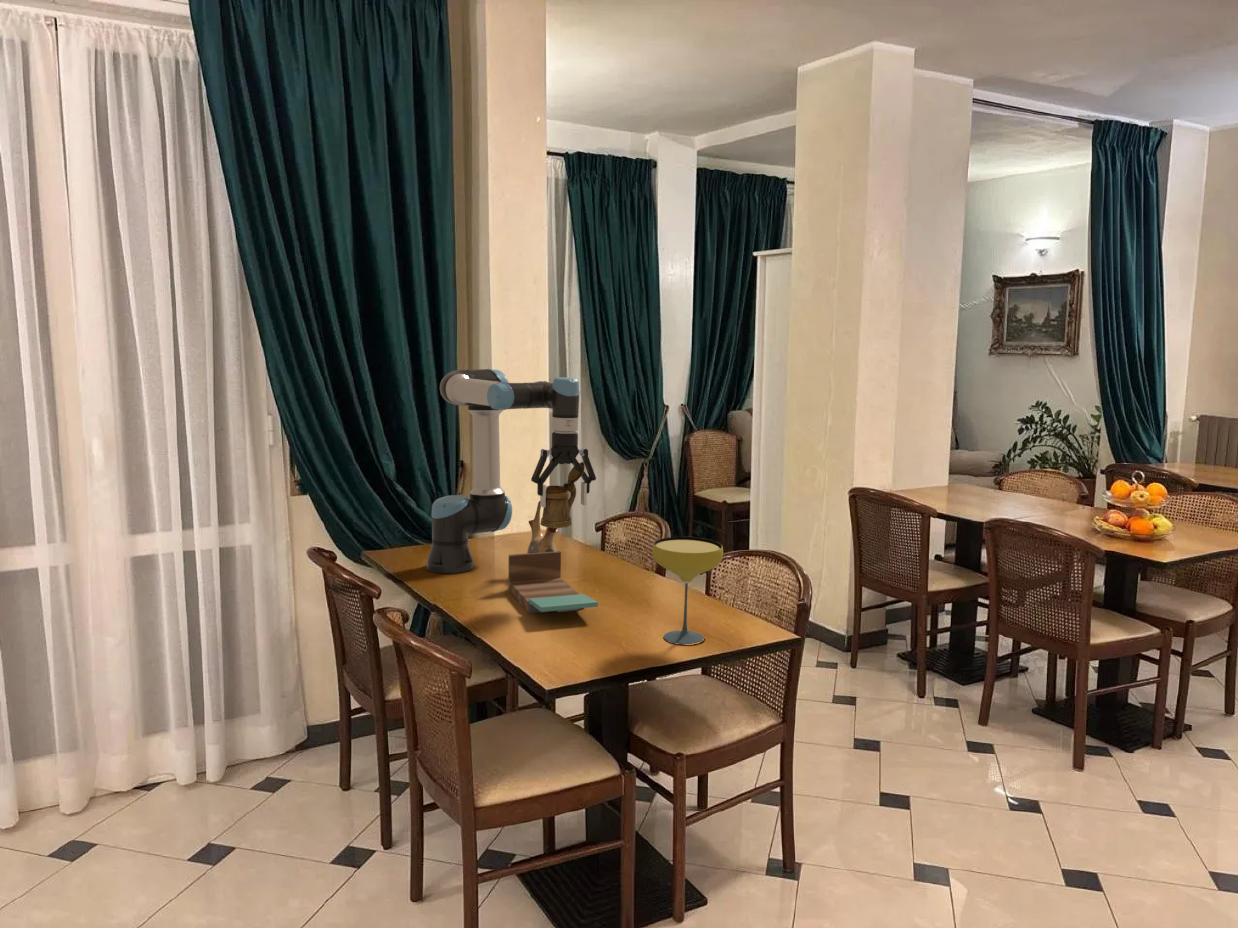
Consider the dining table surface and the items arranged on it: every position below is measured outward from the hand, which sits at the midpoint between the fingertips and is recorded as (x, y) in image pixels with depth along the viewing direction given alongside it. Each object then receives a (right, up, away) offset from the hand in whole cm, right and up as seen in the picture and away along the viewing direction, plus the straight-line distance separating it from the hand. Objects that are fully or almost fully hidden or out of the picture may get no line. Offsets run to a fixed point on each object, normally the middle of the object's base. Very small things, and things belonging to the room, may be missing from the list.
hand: (563, 505), depth 264 cm
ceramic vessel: (-8, -24, +26) cm, 37 cm away
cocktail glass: (+33, -33, -29) cm, 55 cm away
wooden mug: (0, -6, +1) cm, 6 cm away
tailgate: (-1, -26, -9) cm, 28 cm away
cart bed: (-6, -27, +3) cm, 28 cm away
